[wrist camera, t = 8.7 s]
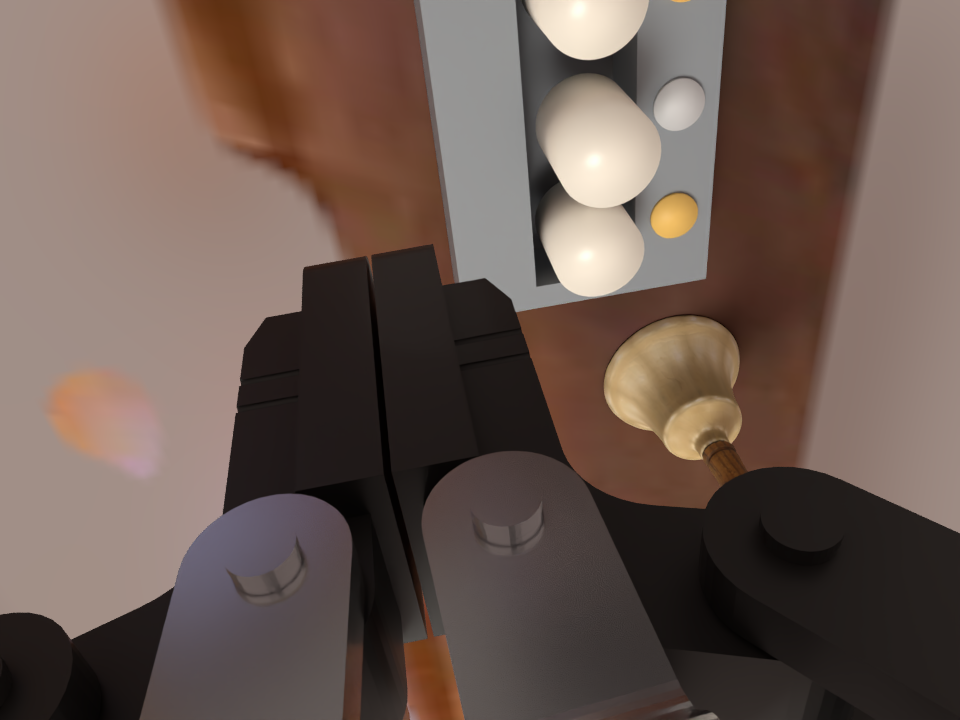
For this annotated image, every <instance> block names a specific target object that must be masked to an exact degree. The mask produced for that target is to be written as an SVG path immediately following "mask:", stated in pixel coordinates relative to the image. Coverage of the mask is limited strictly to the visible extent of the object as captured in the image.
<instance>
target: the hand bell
mask: <svg viewBox="0 0 960 720" xmlns="http://www.w3.org/2000/svg"><path fill="white" fill-rule="evenodd" d="M739 361H740V357H739V349H738V346H737V343H736V341H735V339H734V337H733V336H732V334H731V333H730V332H729V331H728V330H727V329H726V328H725V327H724V326H722V325H721V324H719V323H718V322H716V321H713V320H712V319H709V318H706V317H700V316H694V315H685V316H675V317H669V318H666V319H663V320H659V321H657V322H654V323H652V324H650V325H648V326H646V327H644V328H642V329H641V330H639V331H638V332H636V333H635V334H634V335H632V336H631V337H630V338H629V339H628V340H626V341H625V342H624V343H623V344H622V345H621V346H620V347H619V349H618V350H617V352H616V353H615V354H614V356H613V357H612V359H611V361H610V363H609V365H608V367H607V370H606V373H605V378H604V394H605V398H606V401H607V403H608V405H609V407H610V409H611V410H612V411H613V412H614V414H615V415H616V416H618V417H619V418H620V419H621V420H623V421H624V422H626V423H628V424H630V425H632V426H634V427H637V428H640V429H644V430H651V431H654V432H655V433H656V434H657V435H658V437H659V438H660V439H661V440H662V442H663V443H664V445H665V446H666V447H667V449H668V450H669V451H670V452H671V453H673V454H674V455H676V456H678V457H680V458H683V459H689V460H699V459H703V460H704V462H705V464H706V465H707V466H708V467H709V469H710V471H711V472H712V474H713V475H714V477H715V478H716V480H717V481H718V483H719V484H720V486H721V487H722V486H723V485H724V484H725V483H727V482H728V481H730V480H731V479H733V478H735V477H737V476H739V475H742V474H744V473H747V472H748V471H747V470H746V468H745V466H744V465H743V463H742V461H741V459H740V457H739V455H738V454H737V453H736V450H735V448H734V446H733V445H732V444H731V443H732V442H733V441H734V440H735V438H736V437H737V435H738V433H739V431H740V428H741V424H742V416H741V411H740V409H739V406H738V404H737V402H736V400H735V397H734V394H733V391H732V388H733V385H734V383H735V381H736V378H737V375H738V371H739Z"/></svg>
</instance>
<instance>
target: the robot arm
mask: <svg viewBox="0 0 960 720" xmlns="http://www.w3.org/2000/svg"><path fill="white" fill-rule="evenodd" d="M372 269H373V276H372V272H371V268H370V265H369V261H368V258H367V256H364V257H359V258H353V259H347V260H342V261H336V262H330V263H325V264H319V265H314V266H309V267H304V269H303V287H302V311H300V312H295V313H290V314H284V315H278V316H273V317H267V318H266V319H265V320H264V321H263V323H262V324H261V326H260V327H259V328H258V330H257V331H256V332H255V334H254V335H253V337H252V338H251V339H250V341H249V342H248V344H247V345H246V347H245V348H244V354H243V361H242V369H241V377H240V381H241V386H239V392H238V401H237V409H238V413H236V416H235V424H234V431H233V439H232V447H231V455H230V462H229V470H228V478H227V485H226V493H225V501H224V509H223V515H222V516H220V518H218V519H217V520H216V521H214V522H213V523H211V524H210V525H209V526H208V527H207V528H206V529H205V530H204V531H203V532H202V533H201V534H200V535H199V536H198V537H197V538H196V540H195V541H194V542H193V544H192V545H191V546H190V547H189V549H188V551H187V553H186V554H185V556H184V558H183V560H182V563H181V566H180V568H179V571H178V575H177V578H176V582H175V586H174V587H173V588H172V589H170V590H169V591H167V592H166V593H164V594H163V595H162V596H160V597H158V598H157V599H155V600H153V601H151V602H149V603H147V604H145V605H143V606H142V607H140V608H138V609H136V610H133V611H131V612H129V613H127V614H125V615H123V616H120V617H118V618H116V619H114V620H112V621H110V622H108V623H106V624H103V625H101V626H99V627H97V628H95V629H93V630H91V631H89V632H86V633H85V634H82V635H80V636H78V637H76V638H74V639H72V640H71V639H70V638H69V637H68V635H67V634H66V633H65V631H64V630H63V629H62V627H61V626H59V625H58V624H57V623H56V622H54V621H53V620H51V619H49V618H47V617H44V616H42V615H38V614H33V613H9V614H2V615H0V720H410V716H409V711H408V708H407V679H406V668H405V657H404V646H403V643H408V642H413V641H418V640H422V639H427V630H426V621H425V613H424V604H423V596H422V591H423V595H424V599H425V603H426V607H427V611H428V615H429V619H430V622H431V626H432V630H433V634H434V637H435V636H440V635H446V639H447V644H448V648H449V653H450V657H451V661H452V666H453V670H454V675H455V679H456V683H457V688H458V692H459V697H460V701H461V705H462V710H463V714H464V719H465V720H960V533H958V532H956V531H953V530H951V529H949V528H947V527H944V526H942V525H940V524H938V523H936V522H933V521H931V520H929V519H927V518H925V517H922V516H920V515H918V514H916V513H914V512H911V511H909V510H907V509H905V508H902V507H900V506H898V505H896V504H894V503H891V502H889V501H887V500H885V499H883V498H880V497H878V496H876V495H874V494H871V493H869V492H867V491H865V490H863V489H860V488H858V487H856V486H854V485H852V484H849V483H847V482H845V481H843V480H841V479H838V478H835V477H833V476H830V475H828V474H825V473H821V472H817V471H813V470H809V469H802V468H795V467H771V468H762V469H758V470H754V471H750V472H747V473H744V474H742V475H739V476H737V477H735V478H733V479H731V480H730V481H728V482H727V483H725V484H724V485H723V486H722V487H721V488H719V489H718V490H717V491H716V492H715V493H714V495H713V496H712V498H711V499H710V501H709V502H708V504H707V507H706V509H697V508H683V507H669V506H655V505H647V504H639V503H634V502H630V501H626V500H622V499H619V498H616V497H614V496H611V495H608V494H606V493H604V492H602V491H601V490H599V489H597V488H595V487H593V486H592V485H591V484H589V483H588V482H586V481H585V480H584V479H582V478H581V477H580V476H579V475H578V474H577V473H576V472H575V471H574V469H573V468H572V467H571V465H570V464H569V462H568V461H567V459H566V457H565V455H564V453H563V450H562V447H561V444H560V441H559V439H558V436H557V433H556V430H555V427H554V424H553V421H552V418H551V415H550V412H549V409H548V406H547V403H546V400H545V397H544V394H543V391H542V388H541V385H540V382H539V379H538V376H537V373H536V371H535V368H534V365H533V362H532V359H531V358H530V354H529V350H528V347H527V344H526V341H525V338H524V335H523V334H522V331H521V326H520V323H519V320H518V317H517V314H516V311H515V308H514V305H513V302H512V300H511V298H509V297H508V296H507V295H506V294H504V293H503V292H502V291H501V290H499V289H498V288H497V287H496V286H495V285H493V284H492V283H491V282H490V281H488V280H487V279H486V278H482V279H476V280H471V281H465V282H460V283H454V284H449V285H443V286H442V283H441V279H440V274H439V270H438V265H437V260H436V256H435V251H434V247H433V244H431V245H425V246H419V247H414V248H408V249H402V250H397V251H391V252H385V253H380V254H374V255H372ZM373 279H374V281H373Z"/></svg>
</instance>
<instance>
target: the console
mask: <svg viewBox="0 0 960 720" xmlns="http://www.w3.org/2000/svg"><path fill="white" fill-rule="evenodd" d="M414 5H415V12H416V19H417V26H418V32H419V39H420V46H421V53H422V60H423V67H424V74H425V81H426V88H427V95H428V102H429V109H430V116H431V123H432V129H433V136H434V143H435V150H436V157H437V164H438V171H439V178H440V185H441V192H442V199H443V206H444V213H445V220H446V226H447V233H448V240H449V247H450V254H451V261H452V268H453V275H454V281H455V283H460V282H465V281H471V280H476V279H482V278H486V279H487V280H488V281H490V282H491V283H492V284H493V285H495V286H496V287H497V288H498V289H499V290H501V291H502V292H503V293H504V294H506V295H507V296H508V297H509V298H511V300H512V302H513V305H514V308H515V311H516V312H518V311H524V310H530V309H535V308H541V307H547V306H552V305H558V304H564V303H570V302H575V301H581V300H587V299H593V298H598V297H604V296H610V295H615V294H621V293H627V292H633V291H638V290H644V289H650V288H656V287H661V286H667V285H673V284H678V283H684V282H690V281H696V280H701V279H706V270H707V257H708V243H709V229H710V216H711V202H712V189H713V175H714V162H715V148H716V135H717V121H718V107H719V94H720V80H721V67H722V53H723V40H724V26H725V13H726V0H649V3H648V9H647V12H646V15H645V18H644V20H643V23H642V25H641V26H640V28H639V30H638V31H637V33H636V34H635V35H634V37H633V38H632V39H631V40H630V41H629V42H628V43H627V44H626V45H625V46H624V47H623V48H621V49H620V50H618V51H617V52H615V53H613V54H611V55H609V56H607V57H604V58H600V59H595V60H581V59H576V58H573V57H570V56H568V55H566V54H564V53H562V52H561V51H560V50H558V49H557V48H556V47H555V46H554V45H553V44H552V43H551V41H550V40H549V39H548V38H547V36H546V35H545V34H544V33H543V32H542V30H541V29H540V28H539V27H538V26H537V24H536V23H535V22H534V21H533V19H532V18H531V17H530V16H529V14H528V13H527V12H526V10H525V8H524V6H523V4H522V2H521V0H414ZM583 73H595V74H600V75H603V76H606V77H608V78H610V79H611V80H613V81H614V82H615V83H616V84H617V85H618V86H619V87H620V88H621V89H622V90H623V91H624V92H625V93H626V94H627V95H628V96H629V97H630V98H631V100H632V101H633V102H634V103H635V104H636V105H637V106H638V107H639V108H640V109H641V110H642V111H643V113H644V114H645V115H646V116H647V117H648V118H649V119H650V120H651V121H652V123H653V124H654V125H655V127H656V129H657V131H658V134H659V137H660V141H661V158H660V162H659V166H658V168H657V171H656V173H655V175H654V177H653V178H652V180H651V181H650V183H649V184H648V185H647V186H646V188H645V189H644V190H643V191H642V192H641V193H639V194H638V195H637V196H636V197H634V198H632V199H631V200H629V201H627V202H625V203H623V204H622V206H623V207H624V209H625V210H626V212H627V213H628V215H629V216H630V218H631V219H632V221H633V222H634V224H635V225H636V226H637V228H638V229H639V231H640V233H641V235H642V237H643V241H644V257H643V261H642V263H641V266H640V268H639V270H638V271H637V273H636V274H635V275H634V277H633V278H632V279H631V280H630V281H629V282H628V283H627V284H625V285H624V286H623V287H621V288H620V289H618V290H616V291H614V292H612V293H609V294H606V295H602V296H596V297H587V296H581V295H578V294H575V293H573V292H571V291H569V290H568V289H567V288H565V287H564V286H563V285H562V284H561V282H560V281H559V279H558V277H557V275H556V273H555V271H554V269H553V266H552V264H551V262H550V260H549V258H548V255H547V253H546V251H545V249H544V247H543V244H542V242H541V240H540V238H539V236H538V234H537V231H536V227H535V214H536V210H537V207H538V205H539V202H540V201H541V199H542V197H543V196H544V195H545V193H546V192H547V191H548V190H549V189H550V188H552V187H553V186H554V185H556V184H557V183H559V182H560V180H559V178H558V177H557V175H556V173H555V171H554V170H553V168H552V166H551V164H550V163H549V161H548V159H547V157H546V156H545V154H544V152H543V150H542V149H541V147H540V145H539V142H538V139H537V136H536V117H537V113H538V110H539V108H540V105H541V103H542V101H543V99H544V98H545V97H546V95H547V94H548V93H549V92H550V90H551V89H552V88H553V87H555V86H556V85H557V84H558V83H560V82H561V81H563V80H565V79H566V78H568V77H571V76H574V75H577V74H583Z"/></svg>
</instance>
